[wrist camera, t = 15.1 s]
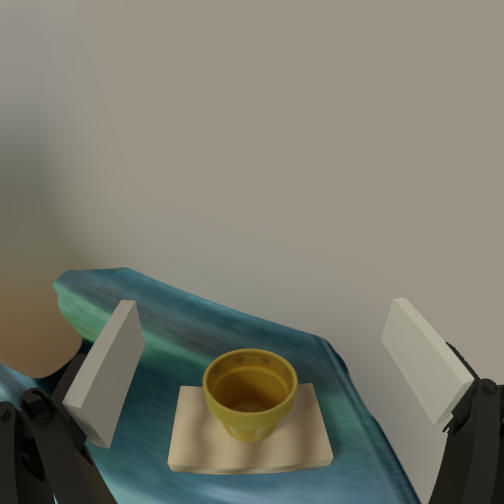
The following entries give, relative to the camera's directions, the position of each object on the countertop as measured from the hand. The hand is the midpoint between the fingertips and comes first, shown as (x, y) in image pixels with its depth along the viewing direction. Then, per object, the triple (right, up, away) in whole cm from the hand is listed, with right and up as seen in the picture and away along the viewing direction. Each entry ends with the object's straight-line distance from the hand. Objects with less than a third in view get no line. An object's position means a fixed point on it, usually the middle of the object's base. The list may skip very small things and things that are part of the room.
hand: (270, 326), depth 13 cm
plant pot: (-1, -19, +18) cm, 26 cm away
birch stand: (-1, -21, +19) cm, 29 cm away
